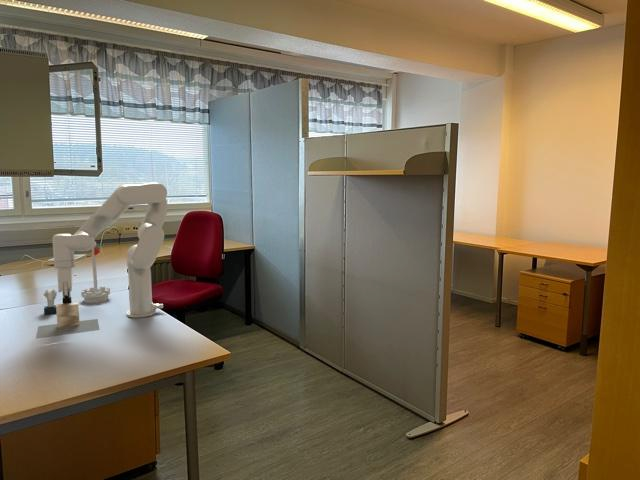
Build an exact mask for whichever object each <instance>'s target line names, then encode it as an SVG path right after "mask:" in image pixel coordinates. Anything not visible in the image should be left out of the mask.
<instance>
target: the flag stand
mask: <svg viewBox="0 0 640 480" xmlns="http://www.w3.org/2000/svg"><path fill="white" fill-rule="evenodd" d="M96 246H97V242H96V241H95V245H94V247H93V248H92V249H91V259H92V273H93V274H92V276H93V286H91V287H89V289H88V288H83V289H82V290H81V291H80V292H81V293H80V296H81V297H82V298H83V303H88V304H96V303H97V304H98V303H104V302H107V301H108V300H109V295H110V294H111V287H106V286H100V287H99V288H98V277H97V276H98V275H97V261H96V260H97V259H96V257H97V256H96V255H99V254H101V251H100V250H99V249H98V248H96Z"/></svg>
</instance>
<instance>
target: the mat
mask: <svg viewBox="0 0 640 480" xmlns="http://www.w3.org/2000/svg"><path fill="white" fill-rule="evenodd" d="M79 323H80V325H73V326H65V327H58V326H57V323H55V324H54V323H53V324H46V325H38V327H37V332H36V336H35V339H43V338H49V337H56V336H63V335H70V334H71V335H72V334H73V335H74V334H79V333H87V332H94V331H99V330H100V324H99V319H98V318H94V319H86V320H79Z"/></svg>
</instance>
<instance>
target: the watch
mask: <svg viewBox="0 0 640 480" xmlns="http://www.w3.org/2000/svg"><path fill="white" fill-rule="evenodd" d="M43 296H44V297H45V299H46V301H47V305H45V306H43V307H44V308H43V314H44V316H50V315H57V313H56V305H57V304H55V299H56V297H57V290H55V289H53V288H52V289H46V290H45V291H44V293H43Z"/></svg>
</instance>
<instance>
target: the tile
mask: <svg viewBox="0 0 640 480" xmlns="http://www.w3.org/2000/svg"><path fill="white" fill-rule="evenodd" d="M55 305H56V313H57V314H56V324H57V326H58V327H65V326H73V325H80V323H79V321H80V309H79V302H78V301H77V302H72V303H66V304H63V303H58V304H55Z"/></svg>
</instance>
